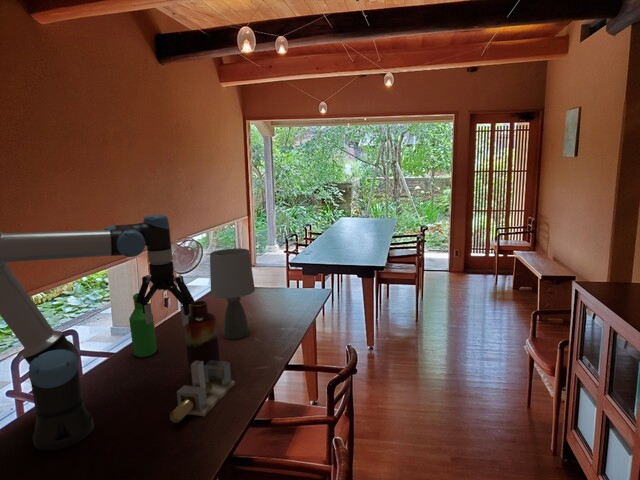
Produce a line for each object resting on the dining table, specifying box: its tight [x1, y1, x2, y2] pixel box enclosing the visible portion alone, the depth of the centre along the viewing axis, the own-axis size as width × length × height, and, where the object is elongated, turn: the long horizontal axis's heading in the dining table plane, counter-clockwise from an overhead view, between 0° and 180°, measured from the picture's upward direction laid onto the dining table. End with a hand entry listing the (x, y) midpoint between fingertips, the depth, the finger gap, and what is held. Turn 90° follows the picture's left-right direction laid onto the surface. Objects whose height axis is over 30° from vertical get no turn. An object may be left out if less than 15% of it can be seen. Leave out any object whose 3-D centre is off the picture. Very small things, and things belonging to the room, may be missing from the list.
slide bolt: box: [169, 361, 212, 424], centre depth 138 cm, size 18×4×12 cm, turn 164°
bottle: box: [128, 292, 158, 358], centre depth 181 cm, size 9×9×25 cm
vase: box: [183, 300, 221, 375], centre depth 162 cm, size 11×11×26 cm
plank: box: [187, 380, 236, 417], centre depth 146 cm, size 20×10×1 cm, turn 164°
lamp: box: [209, 247, 256, 340], centre depth 196 cm, size 19×19×37 cm
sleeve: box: [176, 385, 207, 412], centre depth 138 cm, size 4×7×6 cm, turn 74°
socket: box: [204, 360, 232, 386], centre depth 153 cm, size 4×7×7 cm, turn 74°
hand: (167, 323), depth 153 cm, fingers open, 13 cm apart
